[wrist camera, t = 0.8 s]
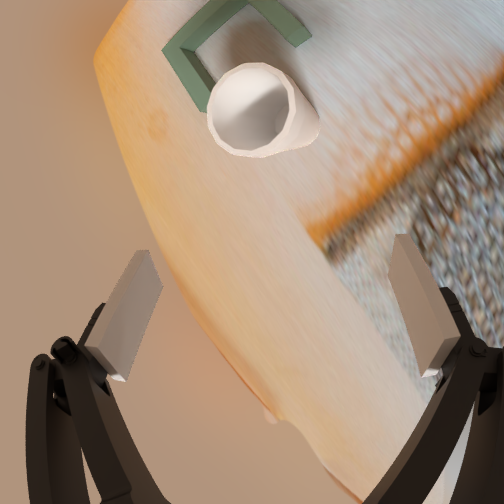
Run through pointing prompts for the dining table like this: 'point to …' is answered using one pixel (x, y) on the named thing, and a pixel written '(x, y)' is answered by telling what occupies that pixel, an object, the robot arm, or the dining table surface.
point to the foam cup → (260, 112)
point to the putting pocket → (204, 25)
